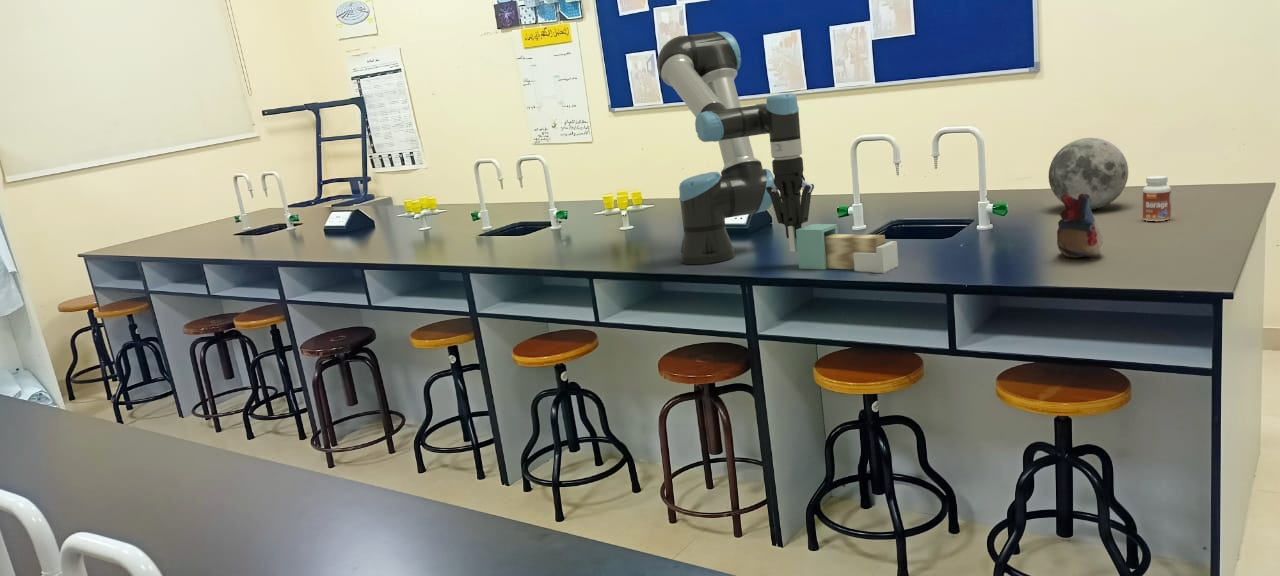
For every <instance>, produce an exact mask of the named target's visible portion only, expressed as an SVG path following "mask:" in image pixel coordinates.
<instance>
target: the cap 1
mask: <svg viewBox="0 0 1280 576" xmlns="http://www.w3.org/2000/svg"><path fill="white" fill-rule="evenodd" d="M832 234H839V233H838V223H811V224H808V225H805V226H801V228H799V229H796V236H797V248H798V251H797V257H798V269H801V270H802V269H805V270H806V269H807V270H827V269H828V268H827V263H826V251H825V239H824V237H827V236H829V235H832Z"/></svg>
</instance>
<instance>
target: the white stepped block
mask: <svg viewBox="0 0 1280 576" xmlns="http://www.w3.org/2000/svg"><path fill="white" fill-rule="evenodd" d="M853 255H854V268H855V269H854V272H866V273H877V274H884V273H885V274H886V273H888V272H889V271H891V270H894V269H895V268H897V267H899V252H898V241H897V240H895V241H894V240H893V241H892V240H890V241H887V242H885V244H883V245H881V246H879V247H876V253H862V252H855V253H853Z"/></svg>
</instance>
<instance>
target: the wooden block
mask: <svg viewBox="0 0 1280 576" xmlns="http://www.w3.org/2000/svg"><path fill="white" fill-rule="evenodd" d="M824 239H825V251H826V266H827V269H840V270H855V268H854V255H853V253H855V252H862V253H876V247H879V246H881V245H883V244H886V235H885V234H847V233H846V234H843V233H838V234H832V235H829V236H827V237H824Z"/></svg>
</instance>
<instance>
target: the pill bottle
mask: <svg viewBox="0 0 1280 576" xmlns="http://www.w3.org/2000/svg"><path fill="white" fill-rule="evenodd" d="M1145 183H1146V184H1147V185H1146V186H1144V187H1143V188H1142V189H1143V190H1142V220H1143V219H1148V220H1163V219H1169V218H1170V219H1171V217H1172V216H1171V214H1172V213H1171V209H1172V200H1171V198H1172V188H1171V186H1170V185H1169V184H1168V176H1167V175H1150V176H1147V177H1146V179H1145Z"/></svg>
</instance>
